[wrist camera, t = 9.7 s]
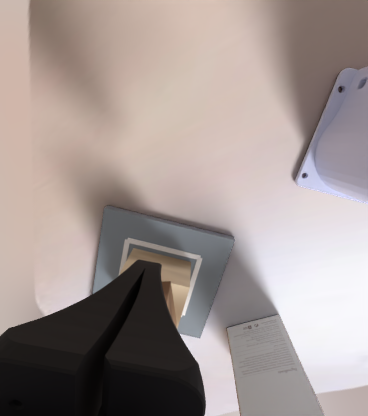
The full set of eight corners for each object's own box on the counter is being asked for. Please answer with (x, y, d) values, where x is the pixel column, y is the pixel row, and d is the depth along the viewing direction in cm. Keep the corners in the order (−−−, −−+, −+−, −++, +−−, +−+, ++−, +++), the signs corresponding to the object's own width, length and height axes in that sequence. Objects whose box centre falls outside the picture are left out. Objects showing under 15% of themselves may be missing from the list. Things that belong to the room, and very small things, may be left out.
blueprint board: (107, 205, 22) (103, 208, 21) (233, 236, 22) (235, 240, 21) (93, 307, 26) (89, 312, 25) (199, 332, 26) (200, 339, 25)
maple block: (133, 247, 22) (120, 270, 19) (191, 262, 23) (189, 287, 19) (124, 295, 24) (111, 324, 20) (177, 307, 24) (174, 339, 21)
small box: (225, 326, 26) (251, 500, 14) (279, 312, 25) (361, 487, 12) (245, 374, 28) (283, 561, 16) (295, 363, 27) (379, 554, 15)
